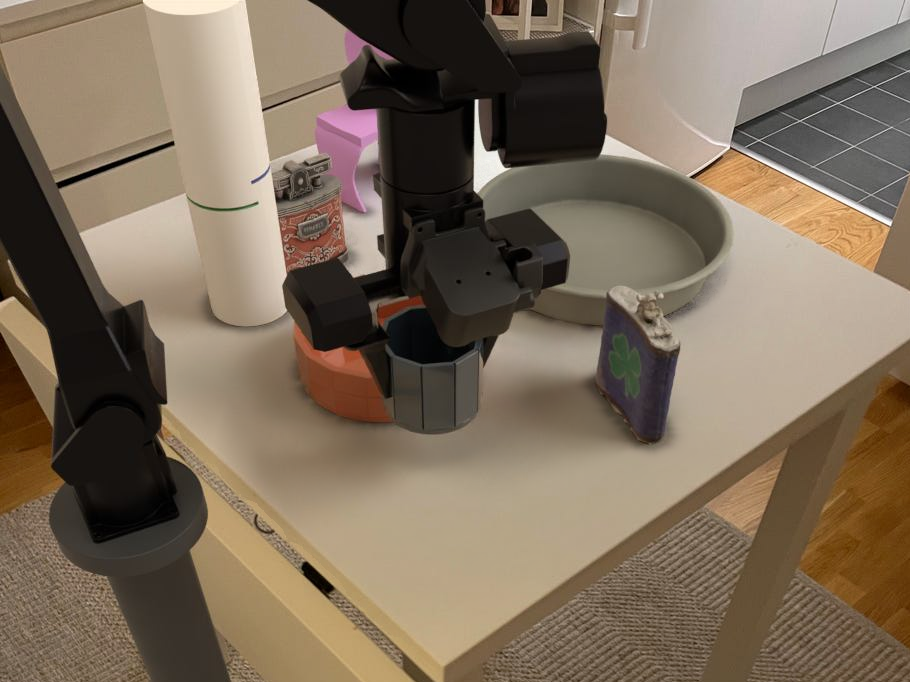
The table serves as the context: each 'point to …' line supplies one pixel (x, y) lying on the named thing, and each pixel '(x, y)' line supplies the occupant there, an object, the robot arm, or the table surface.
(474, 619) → the table surface
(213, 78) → the cylindrical container
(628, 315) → the flask
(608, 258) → the cake pan
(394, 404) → the small bowl
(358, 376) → the orange bowl
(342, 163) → the toy chair
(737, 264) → the table surface
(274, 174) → the lighter
